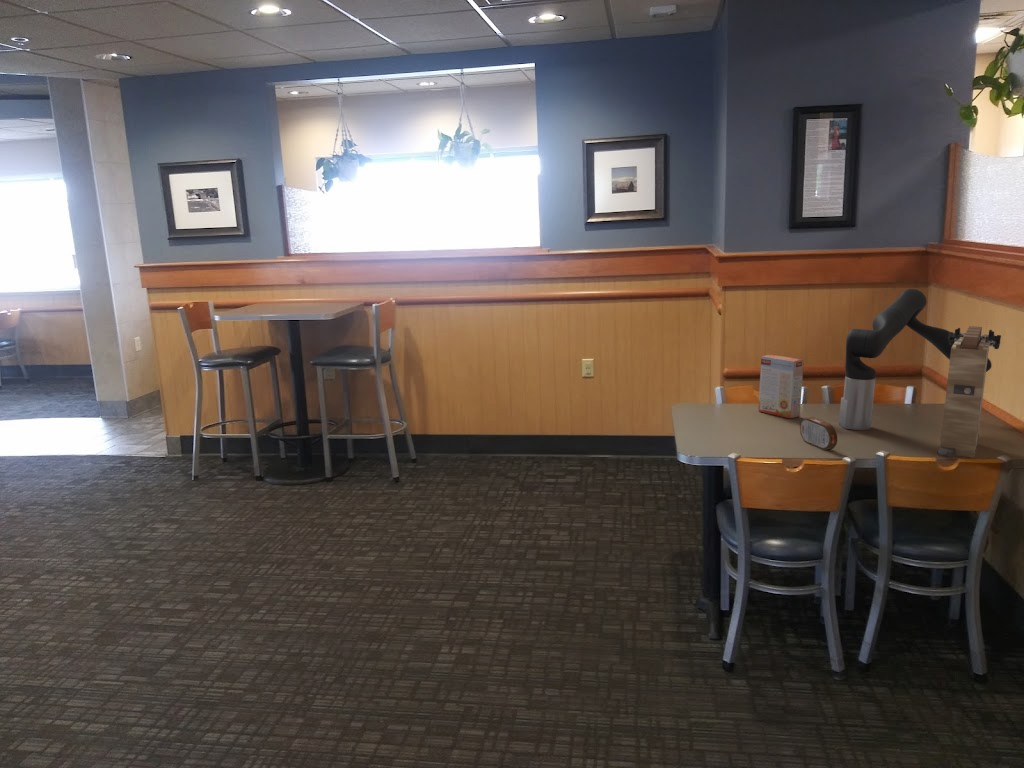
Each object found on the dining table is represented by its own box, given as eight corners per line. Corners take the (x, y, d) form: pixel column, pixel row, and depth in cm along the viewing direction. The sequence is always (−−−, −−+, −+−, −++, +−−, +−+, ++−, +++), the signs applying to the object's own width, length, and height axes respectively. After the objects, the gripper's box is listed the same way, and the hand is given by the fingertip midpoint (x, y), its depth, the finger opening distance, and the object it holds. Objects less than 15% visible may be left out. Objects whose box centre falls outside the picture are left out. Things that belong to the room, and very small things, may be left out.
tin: (837, 452, 235) (839, 425, 233) (828, 453, 234) (830, 426, 232) (805, 439, 249) (807, 413, 247) (797, 439, 248) (799, 414, 246)
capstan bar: (967, 337, 245) (969, 326, 245) (980, 337, 244) (982, 326, 243) (962, 348, 226) (963, 336, 225) (976, 349, 224) (977, 337, 223)
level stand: (943, 439, 246) (954, 336, 239) (977, 444, 241) (990, 339, 234) (936, 457, 229) (948, 346, 222) (972, 462, 224) (986, 349, 217)
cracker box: (800, 416, 276) (804, 359, 271) (790, 419, 272) (794, 361, 268) (768, 409, 287) (771, 353, 283) (757, 411, 284) (760, 355, 279)
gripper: (950, 338, 258) (949, 319, 245) (1000, 341, 251) (1002, 322, 237) (947, 359, 257) (946, 340, 243) (998, 363, 249) (999, 344, 236)
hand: (974, 331), depth 240 cm, fingers open, 8 cm apart
